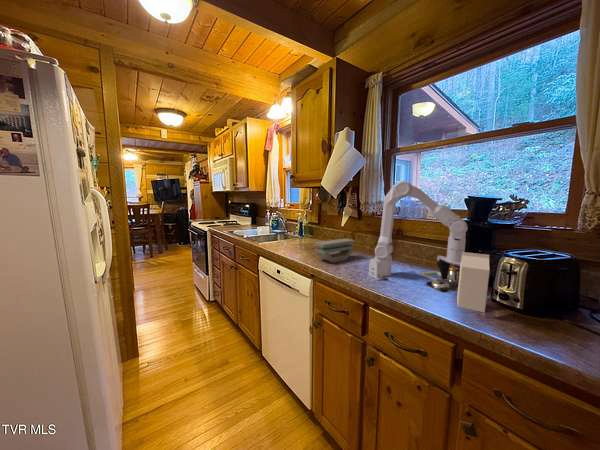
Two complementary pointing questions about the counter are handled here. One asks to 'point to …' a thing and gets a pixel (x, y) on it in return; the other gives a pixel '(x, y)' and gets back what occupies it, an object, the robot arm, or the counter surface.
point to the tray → (433, 277)
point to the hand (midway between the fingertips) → (452, 282)
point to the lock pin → (453, 276)
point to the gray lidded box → (335, 249)
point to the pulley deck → (442, 286)
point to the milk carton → (473, 281)
